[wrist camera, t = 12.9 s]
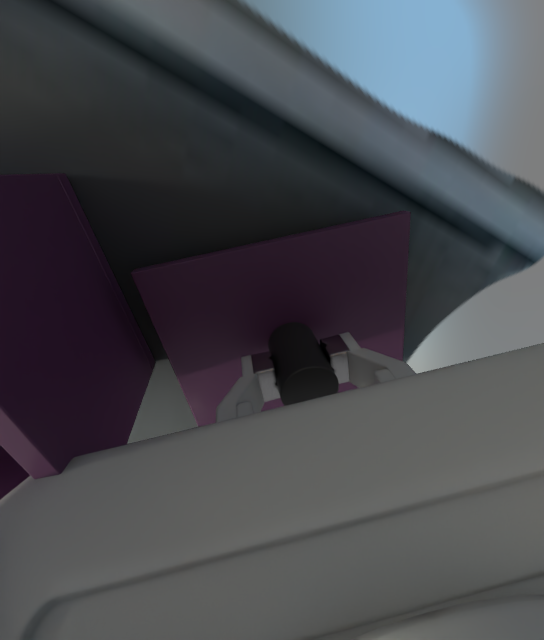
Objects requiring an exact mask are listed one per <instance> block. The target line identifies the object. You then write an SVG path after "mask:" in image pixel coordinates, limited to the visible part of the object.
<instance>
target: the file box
mask: <svg viewBox="0 0 544 640" xmlns="http://www.w3.org/2000/svg"><path fill="white" fill-rule="evenodd" d="M155 363H156V362H155V360H154V358H153V356H152V354H151V352H150V350H149V348H148V346H147V343H146V341H145V339H144V337H143V335H142V333H141V331H140V329H139V327H138V325H137V322H136V320H135V318H134V316H133V314H132V312H131V310H130V308H129V306H128V304H127V302H126V299H125V297H124V295H123V293H122V291H121V289H120V287H119V285H118V283H117V281H116V278H115V276H114V274H113V272H112V270H111V268H110V266H109V264H108V262H107V260H106V258H105V255H104V253H103V251H102V249H101V247H100V245H99V243H98V241H97V239H96V237H95V235H94V232H93V230H92V228H91V226H90V224H89V222H88V220H87V218H86V216H85V214H84V211H83V209H82V207H81V205H80V203H79V201H78V199H77V197H76V195H75V193H74V191H73V188H72V186H71V184H70V182H69V180H68V178H67V176H66V174H64V173H57V174H14V175H0V500H1V499H2V498H3V497H4V496H5V495H7V494H8V493H9V492H10V491H12V490H13V489H14V488H15V487H17V486H18V485H19V484H20V483H22V482H23V481H24V480H25V479H27V478H28V477H29V476H32V478H33V479H39V478H44V477H49V476H54V475H59V474H61V473H62V472H63V470H64V469H65V468H66V466H67V465H68V464H69V462H70V461H71V460H72V459H73V458H74V457H77V456H81V455H85V454H89V453H93V452H97V451H101V450H106V449H110V448H114V447H118V446H122V445H126V444H127V441H128V439H129V436H130V433H131V430H132V427H133V425H134V422H135V419H136V416H137V413H138V411H139V408H140V405H141V402H142V399H143V397H144V394H145V391H146V388H147V386H148V383H149V380H150V377H151V374H152V372H153V369H154V366H155Z"/></svg>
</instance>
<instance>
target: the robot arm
mask: <svg viewBox="0 0 544 640" xmlns="http://www.w3.org/2000/svg"><path fill="white" fill-rule="evenodd" d="M320 347H321V348H322V350H323V352H324V354H325V356H326V358H327V360H328V362H329V363H330V365H331V367H332V369H333V371H334V373H335V375H336V376H337V378H338V382H339V384H341V383H345V382H350V383H352V384H353V385H355V386H357V387H358V388H357V389H352V390H348V391H344V392H340V393H336V394H332V395H328V396H324V397H320V398H315V399H311V400H307V401H303V402H299V403H295V404H291V405H287V406H283V407H278V408H274V409H270V410H266V411H262V412H261V410H262V407H263V405H264V402H267V401H271V400H274V399H278V398H280V394H279V390H278V386H277V382H276V381H277V378H276V373H275V369H274V365H273V360H272V356H271V352H270V351H267V352H262V353H257V354H252V355H248V356H244V357H241V364H242V376H243V377H240V378H239V379H238V380H237V382H236V383H235V384H234V386H233V387H232V388H231V389H230V391H229V392H228V393H227V395H226V396H225V397H224V399H223V400H222V401H221V402H220V404H219V405H218V406H217V408H216V423H213V424H208V425H204V426H200V427H196V428H192V429H188V430H184V431H180V432H175V433H171V434H167V435H163V436H159V437H155V438H151V439H147V440H143V441H138V442H134V443H130V444H126V445H122V446H118V447H114V448H110V449H106V450H101V451H97V452H93V453H89V454H85V455H81V456H77V457H74V458H73V459H72V460H71V461H70V462H69V464H68V465H67V466H66V468H65V469H64V470H63V472H62V473H61V474H59V475H54V476H49V477H44V478H39V479H33V478H32V476H29V477H28V478H27V479H25V480H24V481H23V482H22V483H20V484H19V485H18V486H17V487H15V488H14V489H13V490H12V491H10V492H9V493H8V494H7V495H5V496H4V497H3V498H2V499H1V500H0V640H544V343H542V344H538V345H534V346H529V347H526V348H521V349H517V350H513V351H509V352H505V353H501V354H497V355H493V356H488V357H484V358H481V359H476V360H472V361H468V362H464V363H460V364H455V365H451V366H448V367H443V368H439V369H435V370H431V371H427V372H422V373H418V374H416V373H415V372H414V371H413V370H412V369H411V367H410V366H409V365H408V364H407V363H406V362H403V361H400V360H397V359H394V358H391V357H389V356H386V355H383V354H380V353H377V352H374V351H372V350H369V349H366V348H361V347H360V346H359V345H358V343H357V342H356V341H355V340H354V338H353V337H352V336H351V334H350V333H349V332H346V333H342V334H338V335H335V336H331V337H327V338H323V339H320Z"/></svg>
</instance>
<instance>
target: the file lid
mask: <svg viewBox="0 0 544 640" xmlns="http://www.w3.org/2000/svg"><path fill="white" fill-rule="evenodd" d="M410 216H411V212H408V211H399V212H395V213H390V214H385V215H381V216H376V217H372V218H367V219H363V220H358V221H353V222H349V223H344V224H340V225H335V226H330V227H326V228H321V229H317V230H312V231H308V232H303V233H298V234H294V235H289V236H285V237H280V238H275V239H271V240H266V241H262V242H257V243H253V244H248V245H243V246H239V247H234V248H230V249H225V250H220V251H216V252H211V253H207V254H202V255H198V256H193V257H188V258H184V259H179V260H175V261H170V262H165V263H161V264H156V265H152V266H147V267H143V268H138V269H134V270H133V271H132V272H131V275H132V277H133V280H134V282H135V284H136V287H137V289H138V291H139V293H140V296H141V298H142V300H143V302H144V305H145V307H146V309H147V311H148V314H149V316H150V318H151V320H152V323H153V325H154V327H155V329H156V332H157V334H158V336H159V338H160V341H161V343H162V345H163V347H164V350H165V352H166V354H167V356H168V359H169V361H170V363H171V365H172V368H173V370H174V372H175V375H176V377H177V379H178V381H179V384H180V386H181V388H182V390H183V393H184V395H185V397H186V399H187V402H188V404H189V406H190V408H191V411H192V413H193V415H194V417H195V420H196V422H197V424H198V426H199V427H200V426H204V425H208V424H213V423H216V408H217V406H218V405H219V404H220V402H221V401H222V400H223V399H224V397H225V396H226V395H227V393H228V392H229V391H230V389H231V388H232V387H233V386H234V384H235V383H236V382H237V380H238V379H239V378H240V377H243V376H242V364H241V357H244V356H248V355H252V354H257V353H262V352H267V351H270V352H271V356H272V360H273V365H274V369H275V373H276V378H277V381H276V382H277V386H278V390H279V394H280V398H278V399H274V400H271V401H267V402H264V405H263V407H262V410H261V412H262V411H266V410H270V409H274V408H278V407H283V406H287V405H291V404H295V403H299V402H303V401H307V400H311V399H315V398H320V397H324V396H328V395H332V394H336V393H340V392H344V391H348V390H352V389H357V388H358V387H357V386H355V385H353V384H352V383H350V382H345V383H341V384H339V382H338V378H337V376H336V375H335V373H334V371H333V369H332V367H331V365H330V363H329V362H328V360H327V358H326V356H325V354H324V352H323V350H322V348H321V347H320V339H323V338H327V337H331V336H335V335H338V334H342V333H346V332H349V333H350V334H351V336H352V337H353V338H354V340H355V341H356V342H357V343H358V345H359V346H360V347H361V348H366V349H369V350H372V351H374V352H377V353H380V354H383V355H386V356H389V357H391V358H394V359H397V360H400V361H403V346H404V327H405V309H406V290H407V272H408V253H409V235H410Z"/></svg>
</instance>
